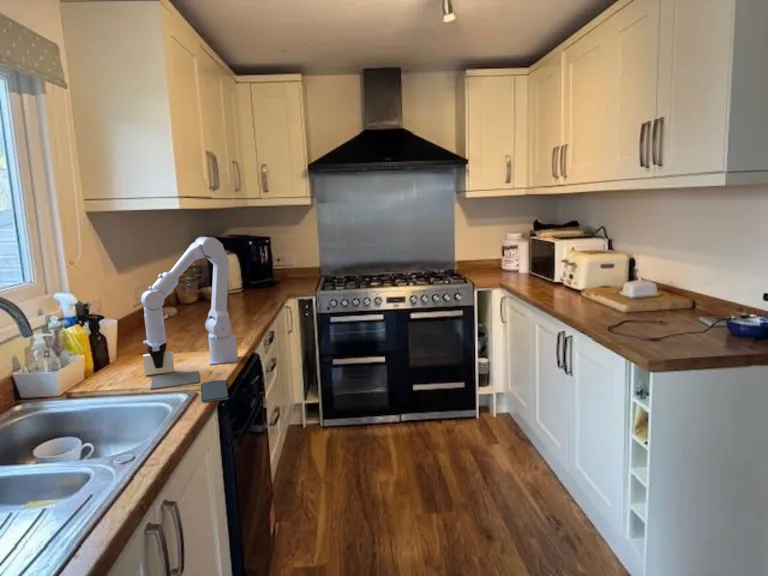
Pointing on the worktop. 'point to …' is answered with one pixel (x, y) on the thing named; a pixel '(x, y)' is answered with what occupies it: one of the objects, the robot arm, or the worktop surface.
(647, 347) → the worktop surface
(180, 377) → the mat
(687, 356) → the worktop surface
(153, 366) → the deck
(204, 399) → the smartphone
